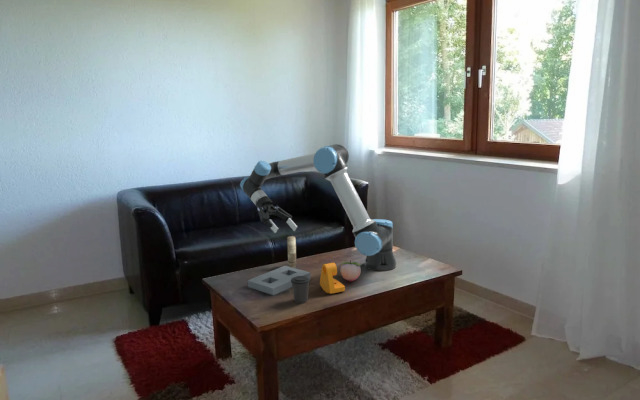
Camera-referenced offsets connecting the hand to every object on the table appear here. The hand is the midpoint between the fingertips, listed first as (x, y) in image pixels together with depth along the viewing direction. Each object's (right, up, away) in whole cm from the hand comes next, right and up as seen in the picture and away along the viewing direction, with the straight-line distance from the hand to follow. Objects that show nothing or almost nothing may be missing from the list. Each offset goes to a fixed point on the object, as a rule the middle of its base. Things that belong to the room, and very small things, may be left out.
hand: (286, 229), depth 231 cm
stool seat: (-2, -23, -13) cm, 27 cm away
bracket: (+21, -25, -22) cm, 40 cm away
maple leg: (+2, -19, +7) cm, 20 cm away
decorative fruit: (+30, -23, -14) cm, 40 cm away
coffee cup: (+8, -27, -33) cm, 44 cm away
